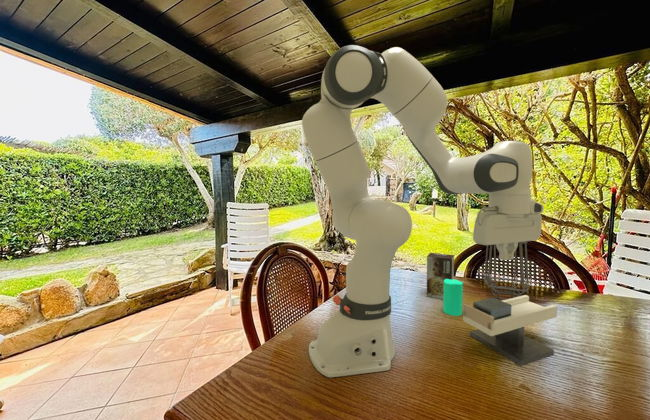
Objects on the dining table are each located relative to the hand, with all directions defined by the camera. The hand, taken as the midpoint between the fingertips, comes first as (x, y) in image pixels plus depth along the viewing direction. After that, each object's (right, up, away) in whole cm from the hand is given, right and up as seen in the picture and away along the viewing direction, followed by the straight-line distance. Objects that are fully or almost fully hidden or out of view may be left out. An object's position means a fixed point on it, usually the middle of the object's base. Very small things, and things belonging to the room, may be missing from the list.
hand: (506, 259), depth 69 cm
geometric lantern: (+23, -20, +35) cm, 46 cm away
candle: (-4, -22, +21) cm, 31 cm away
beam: (+2, -16, +1) cm, 16 cm away
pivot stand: (+2, -23, +2) cm, 23 cm away
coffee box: (-2, -21, +34) cm, 40 cm away
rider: (-5, -15, -1) cm, 16 cm away
